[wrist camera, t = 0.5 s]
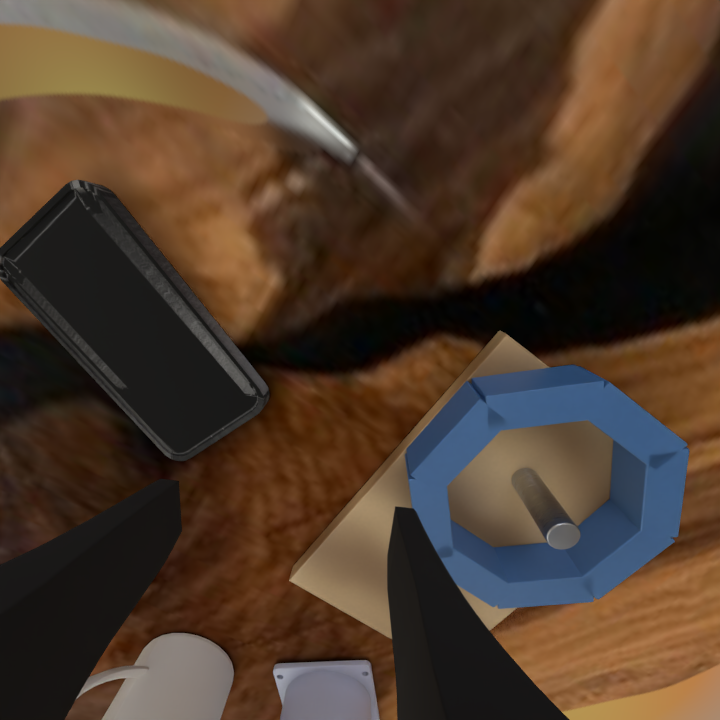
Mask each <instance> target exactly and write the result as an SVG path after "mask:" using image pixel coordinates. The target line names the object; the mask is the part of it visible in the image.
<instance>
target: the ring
mask: <svg viewBox="0 0 720 720" xmlns="http://www.w3.org/2000/svg"><path fill="white" fill-rule="evenodd" d="M471 380H472V384H471V383H470V382H468V381H466V382H465V383H464V384H463V386H462V387H461V388H460V389H459V390H458V391H457V392H456V393H455V395H454V396H453V397H452V398H451V399H450V400H449V401H448V402H447V404H446V405H445V406H444V407H443V408H442V409H441V410H440V411H439V413H438V414H437V415H436V416H435V417H434V418H433V419H432V421H431V422H430V423H429V424H428V425H427V426H426V427H425V428H424V430H423V431H422V432H421V433H420V434H419V435H418V436H417V437H416V439H415V440H414V441H413V442H412V443H411V444H410V445H409V446H408V448H407V449H406V451H407V453H405V461H406V469H407V476H408V483H409V490H410V497H411V504H412V508H414V509H415V511H416V512H417V514H418V516H419V519H420V521H421V523H422V525H423V527H424V529H425V531H426V533H427V535H428V537H429V539H430V541H431V542H432V544H433V546H434V548H435V550H436V552H437V553H438V555H439V557H440V558H441V560H442V562H443V564H444V565H445V567H446V569H447V570H448V572H449V574H450V575H451V577H452V578H453V580H454V582H455V583H456V585H458V586H459V587H461V588H463V589H464V590H466V591H467V592H469V593H471V594H472V595H474V596H475V597H477V598H479V599H480V600H482V601H483V602H485V603H487V604H488V605H490V606H492V607H495V606H496V605H497V607H498V609H505V608H518V607H531V606H544V605H558V604H571V603H584V602H593V600H594V597H595V598H596V599H600V598H601V597H603V596H604V595H605V594H607V593H608V592H609V591H610V590H612V589H613V588H614V587H616V586H617V585H618V584H620V583H621V582H622V581H624V580H625V579H626V578H628V577H629V576H630V575H631V574H633V573H634V572H635V571H637V570H638V569H639V568H641V567H642V566H643V565H645V564H646V563H647V562H649V561H650V560H651V559H652V558H654V557H655V556H656V555H658V554H659V553H660V552H662V551H663V550H664V549H666V548H667V547H668V546H670V545H671V544H672V543H673V542H674V539H673V538H672V537H678V533H679V525H680V518H681V510H682V503H683V495H684V487H685V480H686V472H687V465H688V457H689V449H688V448H687V447H686V446H687V443H686V442H685V441H683V440H682V439H681V438H680V437H678V436H677V435H676V434H675V433H673V432H672V431H671V430H670V429H668V428H667V427H666V426H665V425H663V424H662V423H661V422H659V421H658V420H657V419H656V418H654V417H653V416H652V415H651V414H649V413H648V412H647V411H646V410H644V409H643V408H642V407H641V406H639V405H638V404H637V403H636V402H634V401H633V400H632V399H630V398H629V397H628V396H627V395H625V394H624V393H623V392H622V391H620V390H619V389H618V388H617V387H615V386H614V385H613V384H612V383H610V382H608V381H607V380H605V379H603V378H601V377H599V376H597V375H595V374H594V373H592V372H590V371H588V370H586V369H584V368H582V367H580V366H578V367H577V366H575V365H566V366H558V367H551V368H543V369H536V370H528V371H521V372H513V373H506V374H498V375H491V376H483V377H476V378H472V379H471ZM585 420H588V421H589V422H591V423H592V424H593V425H595V426H596V427H597V428H599V429H600V430H601V431H602V432H604V433H605V434H606V435H608V436H609V437H610V438H612V439H613V453H612V470H611V487H610V499H609V500H608V501H607V502H605V503H604V504H603V505H602V506H601V507H600V508H598V509H597V510H596V511H595V512H594V513H592V514H591V515H590V516H589V517H588V518H587V519H585V520H584V521H583V522H582V523H581V524H580V525H578V526H577V527H578V529H579V531H580V539H579V541H578V542H577V543H576V544H575V545H574V546H572V547H571V548H568V549H555V548H553V547H551V546H550V545H549V544H548V543H536V544H525V545H514V546H503V547H492V546H491V545H489V544H488V543H486V542H485V541H483V540H482V539H480V538H479V537H477V536H475V535H474V534H472V533H471V532H469V531H468V530H466V529H465V528H463V527H462V526H460V525H459V524H457V523H456V522H454V521H452V520H451V518H450V508H449V499H448V489H447V486H448V485H449V484H450V483H451V482H452V481H453V479H454V478H455V477H456V476H457V475H458V474H459V473H460V472H461V471H462V470H463V469H464V468H465V467H466V466H467V465H468V464H469V463H470V462H471V461H472V460H473V459H474V458H475V457H476V456H477V455H478V454H479V453H480V452H481V451H482V450H483V449H484V448H485V447H486V446H487V444H488V443H489V442H490V441H491V440H492V439H493V438H494V437H495V436H496V435H497V434H498V433H499V432H500V431H501V430H510V429H518V428H526V427H535V426H543V425H552V424H560V423H568V422H577V421H585Z"/></svg>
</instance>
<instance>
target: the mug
mask: <svg viewBox="0 0 720 720" xmlns="http://www.w3.org/2000/svg"><path fill="white" fill-rule="evenodd" d="M233 676H234V670H233V665H232V662H231V660H230V658H229V657H228V655H227V654H226V653H225V652H224V651H223V650H222V649H221V648H220V647H219V646H218V645H216V644H215V643H213V642H212V641H210V640H208V639H205V638H203V637H200V636H198V635H193V634H188V633H170V634H165V635H161V636H159V637H157V638H155V639H153V640H152V641H151V642H150V643H149V644H148V645H147V646H146V647H145V648H144V649H143V650H142V652H141V654H140V656H139V657H138V659H137V661H136V662H135V664H134V666H123V667H118V668H113V669H110V670H107V671H104V672H101V673H98V674H96V675H93V676H90V677H89V678H88V679H87V681H86V683H85V684H84V686H83V688H82V690H81V691H80V693H79V695H78V696H77V698H78V697H79V696H81V695H82V694H83V693H84V692H86V691H88V690H89V689H91V688H93V687H94V686H97V685H99V684H102V683H104V682H107V681H111V680H115V679H120V678H126V679H125V681H124V683H123V684H122V686H121V688H120V689H119V691H118V693H117V695H116V696H115V698H114V700H113V701H112V703H111V705H110V706H109V708H108V710H107V712H106V713H105V715H104V717H103V718H102V720H220V719H221V716H222V713H223V710H224V707H225V704H226V701H227V698H228V695H229V692H230V689H231V686H232V683H233ZM77 698H76V699H77Z"/></svg>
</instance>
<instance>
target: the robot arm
mask: <svg viewBox="0 0 720 720" xmlns="http://www.w3.org/2000/svg"><path fill="white" fill-rule="evenodd" d="M181 532H182V527H181V511H180V494H179V481H174V480H165V479H160V480H158V481H156V482H154V483H152V484H150V485H148V486H147V487H145V488H143V489H142V490H140V491H138V492H136V493H135V494H133V495H131V496H130V497H128V498H126V499H124V500H123V501H121V502H119V503H118V504H116V505H114V506H112V507H111V508H109V509H107V510H105V511H104V512H102V513H100V514H99V515H97V516H95V517H93V518H92V519H90V520H88V521H86V522H84V523H82V524H81V525H79V526H77V527H75V528H73V529H71V530H69V531H68V532H66V533H64V534H62V535H60V536H58V537H56V538H55V539H53V540H51V541H49V542H47V543H45V544H43V545H41V546H39V547H37V548H35V549H33V550H31V551H29V552H27V553H25V554H23V555H21V556H18V557H16V558H14V559H12V560H10V561H8V562H6V563H3V564H1V565H0V720H64V719H65V718H66V716H67V714H68V712H69V710H70V709H71V707H72V705H73V703H74V702H75V700H76V698H77V696H78V695H79V693H80V691H81V690H82V688H83V686H84V684H85V683H86V681H87V679H88V678H89V676H90V674H91V672H92V671H93V669H94V667H95V666H96V664H97V662H98V660H99V659H100V657H101V656H102V654H103V653H104V651H105V649H106V648H107V646H108V645H109V643H110V642H111V640H112V639H113V637H114V636H115V634H116V633H117V631H118V630H119V629H120V627H121V626H122V624H123V623H124V621H125V620H126V618H127V617H128V616H129V614H130V613H131V611H132V610H133V608H134V607H135V606H136V604H137V603H138V601H139V600H140V598H141V597H142V595H143V594H144V593H145V591H146V590H147V588H148V587H149V585H150V584H151V582H152V581H153V579H154V578H155V577H156V575H157V574H158V572H159V571H160V569H161V568H162V566H163V565H164V563H165V561H166V560H167V558H168V556H169V554H170V552H171V551H172V549H173V547H174V545H175V543H176V541H177V539H178V537H179V535H180V533H181ZM387 591H388V602H389V612H390V623H391V633H392V643H393V653H394V663H395V673H396V687H397V717H398V720H569V719H568V718H567V717H566V716H565V715H564V714H563V713H562V712H561V711H560V710H559V709H558V708H557V707H556V706H555V705H554V704H553V703H552V702H551V701H550V700H549V699H548V697H547V696H546V695H545V694H544V693H543V692H542V691H541V690H540V689H539V688H538V687H537V686H536V685H535V684H534V683H533V682H532V680H531V679H530V678H529V677H528V676H527V675H526V674H525V673H524V671H523V670H522V669H521V668H520V667H519V666H518V665H517V663H516V662H515V661H514V660H513V659H512V658H511V657H510V655H509V654H508V653H507V652H506V651H505V650H504V648H503V647H502V646H501V645H500V644H499V642H498V641H497V640H496V638H495V637H494V636H493V635H492V633H491V632H490V631H489V630H488V628H487V627H486V626H485V624H484V623H483V622H482V620H481V619H480V618H479V616H478V615H477V614H476V612H475V611H474V610H473V608H472V607H471V605H470V604H469V603H468V601H467V600H466V598H465V597H464V595H463V594H462V592H461V591H460V589H459V588H458V586H457V585H456V583H455V582H454V580H453V578H452V577H451V575H450V574H449V572H448V570H447V569H446V567H445V565H444V564H443V562H442V560H441V558H440V557H439V555H438V553H437V552H436V550H435V548H434V546H433V544H432V542H431V541H430V539H429V537H428V535H427V533H426V531H425V529H424V527H423V525H422V523H421V521H420V519H419V516H418V514H417V512H416V511H415V509H414V508H406V507H397V506H395V511H394V517H393V523H392V529H391V535H390V541H389V548H388V554H387ZM273 674H274V677H275V681H276V684H277V688H278V691H279V695H280V698H281V702H282V705H283V707H282V712H281V717H280V720H380V717H379V711H378V704H377V698H376V692H375V686H374V680H373V674H372V668H371V663H370V662H369V661H367V660H348V661H323V662H299V663H278V664H276V665H275V666H274V669H273Z"/></svg>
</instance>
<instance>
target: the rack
mask: <svg viewBox="0 0 720 720" xmlns="http://www.w3.org/2000/svg"><path fill="white" fill-rule="evenodd" d="M543 368H550V367H548V366H547V365H546V364H545V363H543V362H542V361H541V360H539V359H538V358H537V357H536V356H534V355H533V354H532V353H530V352H529V351H528V350H527V349H525V348H524V347H523V346H521V345H520V344H519V343H517V342H516V341H515V340H514V339H512V338H511V337H510V336H508V335H507V334H505V333H504V332H502V331H498V333H497V334H496V335H495V336H494V337H493V338H492V339H491V341H490V342H489V343H488V344H487V345H486V346H485V347H484V349H483V350H482V351H481V352H480V353H479V354H478V355H477V357H476V358H475V359H474V360H473V361H472V362H471V363H470V365H469V366H468V367H467V368H466V369H465V370H464V371H463V373H462V374H461V375H460V376H459V377H458V378H457V379H456V381H455V382H454V383H453V384H452V385H451V386H450V387H449V389H448V390H447V391H446V392H445V393H444V394H443V395H442V397H441V398H440V399H439V400H438V401H437V402H436V403H435V405H434V406H433V407H432V408H431V409H430V410H429V411H428V413H427V414H426V415H425V416H424V417H423V418H422V419H421V421H420V422H419V423H418V424H417V425H416V426H415V427H414V429H413V430H412V431H411V432H410V433H409V434H408V435H407V437H406V438H405V439H404V440H403V441H402V442H401V443H400V445H399V446H398V447H397V448H396V449H395V450H394V451H393V453H392V454H391V455H390V456H389V457H388V458H387V459H386V461H385V462H384V463H383V464H382V465H381V466H380V467H379V469H378V470H377V471H376V472H375V473H374V474H373V475H372V477H371V478H370V479H369V480H368V481H367V482H366V483H365V485H364V486H363V487H362V488H361V489H360V490H359V491H358V493H357V494H356V495H355V496H354V497H353V498H352V499H351V501H350V502H349V503H348V504H347V505H346V506H345V507H344V509H343V510H342V511H341V512H340V513H339V514H338V515H337V517H336V518H335V519H334V520H333V521H332V522H331V523H330V525H329V526H328V527H327V528H326V529H325V530H324V531H323V533H322V534H321V535H320V536H319V537H318V538H317V539H316V541H315V542H314V543H313V544H312V545H311V546H310V547H309V549H308V550H307V551H306V552H305V553H304V554H303V555H302V557H301V558H300V559H299V560H298V561H297V562H296V563H295V565H294V566H293V568H292V572H291V575H290V579H289V581H291V582H292V583H294V584H296V585H298V586H299V587H301V588H303V589H305V590H306V591H308V592H310V593H312V594H313V595H315V596H317V597H319V598H320V599H322V600H324V601H326V602H327V603H329V604H331V605H333V606H334V607H336V608H338V609H340V610H341V611H343V612H345V613H347V614H348V615H350V616H352V617H354V618H355V619H357V620H359V621H361V622H362V623H364V624H366V625H368V626H369V627H371V628H373V629H375V630H376V631H378V632H380V633H382V634H383V635H385V636H387V637H389V638H390V639H392V633H391V623H390V612H389V602H388V591H387V554H388V548H389V541H390V535H391V529H392V523H393V517H394V511H395V506H397V507H406V508H412V504H411V497H410V490H409V483H408V476H407V469H406V461H405V453H407V451H406V449H407V448H408V446H409V445H410V444H411V443H412V442H413V441H414V440H415V439H416V437H417V436H418V435H419V434H420V433H421V432H422V431H423V430H424V428H425V427H426V426H427V425H428V424H429V423H430V422H431V421H432V419H433V418H434V417H435V416H436V415H437V414H438V413H439V411H440V410H441V409H442V408H443V407H444V406H445V405H446V404H447V402H448V401H449V400H450V399H451V398H452V397H453V396H454V395H455V393H456V392H457V391H458V390H459V389H460V388H461V387H462V386H463V384H464V383H465V382H466V381H468V382H470V383H471V384H472V380H471V379H472V378H476V377H483V376H491V375H498V374H506V373H513V372H521V371H528V370H536V369H543ZM612 453H613V439H612V438H610V437H609V436H608V435H606V434H605V433H604V432H602V431H601V430H600V429H599V428H597V427H596V426H595V425H593V424H592V423H591V422H589V421H588V420H585V421H577V422H568V423H560V424H552V425H543V426H535V427H526V428H518V429H510V430H501V431H500V432H499V433H498V434H497V435H496V436H495V437H494V438H493V439H492V440H491V441H490V442H489V443H488V444H487V446H486V447H485V448H484V449H483V450H482V451H481V452H480V453H479V454H478V455H477V456H476V457H475V458H474V459H473V460H472V461H471V462H470V463H469V464H468V465H467V466H466V467H465V468H464V469H463V470H462V471H461V472H460V473H459V474H458V475H457V476H456V477H455V478H454V479H453V481H452V482H451V483H450V484H449V485H448V486H447V489H448V499H449V508H450V518H451V520H452V521H454V522H456V523H457V524H459V525H460V526H462V527H463V528H465V529H466V530H468V531H469V532H471V533H472V534H474V535H475V536H477V537H479V538H480V539H482V540H483V541H485V542H486V543H488V544H489V545H491V546H492V547H503V546H514V545H525V544H536V543H548V544H549V545H550V546H551V547H553V548H555V549H568V548H571V547H572V546H574V545H575V544H576V543H577V542H578V541H579V539H580V531H579V529H578V527H577V526H578V525H580V524H581V523H582V522H583V521H584V520H585V519H587V518H588V517H589V516H590V515H591V514H592V513H594V512H595V511H596V510H597V509H598V508H600V507H601V506H602V505H603V504H604V503H605V502H607V501H608V500H609V499H610V487H611V470H612ZM457 586H458V585H457ZM458 588H459V589H460V591H461V592H462V594H463V595H464V597H465V598H466V600H467V601H468V603H469V604H470V605H471V607H472V608H473V610H474V611H475V612H476V614H477V615H478V616H479V618H480V619H481V620H482V622H483V623H484V624H485V626H486V627H487V628H488V630H489V631H490V630H491V629H492V628H493V627H494V626H496V625H497V624H498V623H499V622H501V621H502V620H503V619H504V618H505V617H507V616H508V615H509V614H510V613H512V612H513V611H514V610H515V609H516V608H505V609H498V607H497V605H496V606H495V607H492V606H490V605H488V604H487V603H485V602H483V601H482V600H480V599H479V598H477V597H475V596H474V595H472V594H471V593H469V592H467V591H466V590H464V589H463V588H461V587H459V586H458Z"/></svg>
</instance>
